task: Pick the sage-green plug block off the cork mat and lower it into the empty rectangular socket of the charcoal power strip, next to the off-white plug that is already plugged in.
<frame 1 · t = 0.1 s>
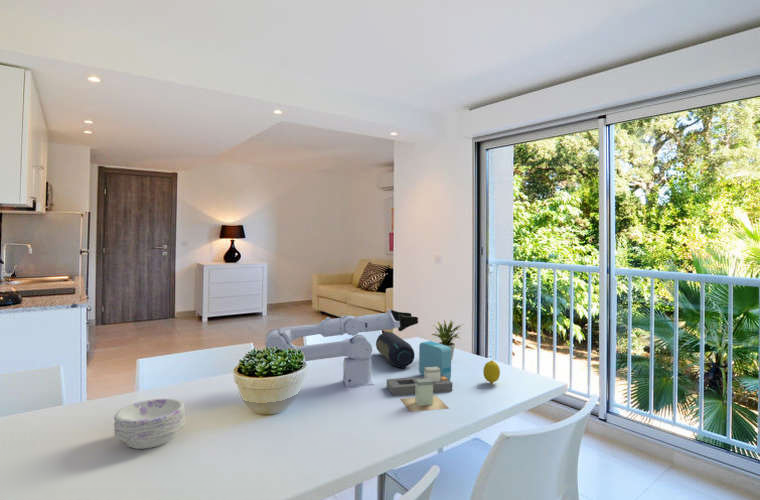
hand: (414, 318, 152), 22 cm above the table, tool horizontal, fingers open, 7 cm apart
paper bowls: (150, 441, 106), on the table
cork mat: (423, 404, 130), on the table
plug: (423, 403, 130), resting on cork mat
house plant: (447, 360, 177), on the table
power strip: (419, 390, 142), on the table
twin plug: (432, 389, 143), resting in power strip
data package: (434, 378, 155), on the table
lemon: (491, 384, 149), on the table
portable speaker: (393, 361, 175), on the table
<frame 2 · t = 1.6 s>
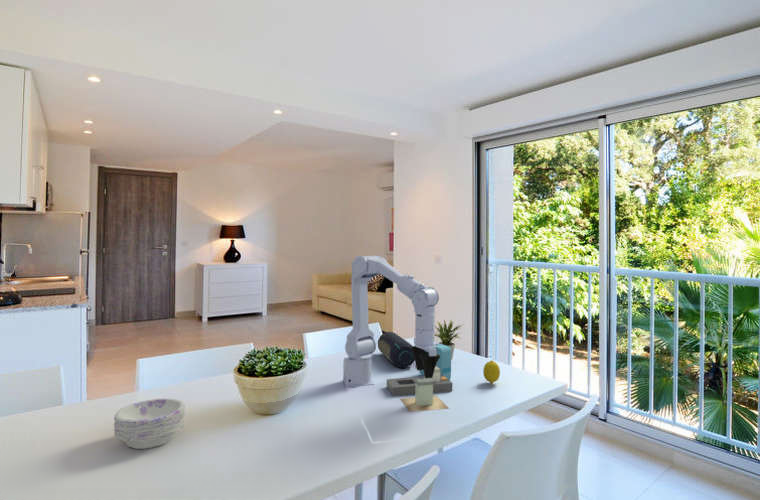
hand: (424, 373, 129), 9 cm above the table, tool pointing down, fingers open, 7 cm apart
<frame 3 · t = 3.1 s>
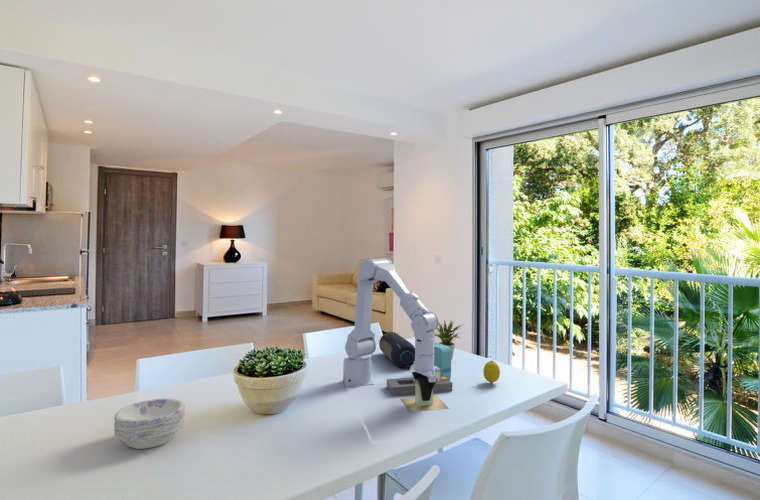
hand: (424, 398, 130), 2 cm above the table, tool pointing down, fingers closed on plug, 3 cm apart
plug: (423, 403, 130), resting on cork mat, touching gripper
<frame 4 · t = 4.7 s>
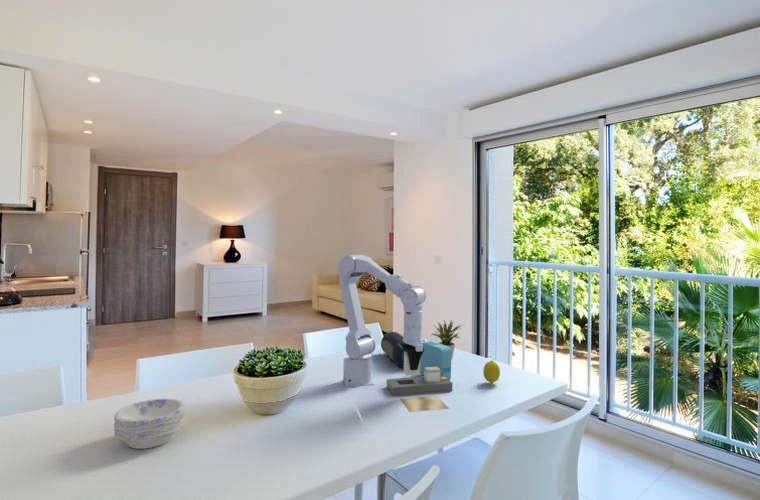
hand: (412, 368, 136), 9 cm above the table, tool pointing down, fingers closed on plug, 3 cm apart
plug: (411, 373, 136), point 7 cm above the table, touching gripper
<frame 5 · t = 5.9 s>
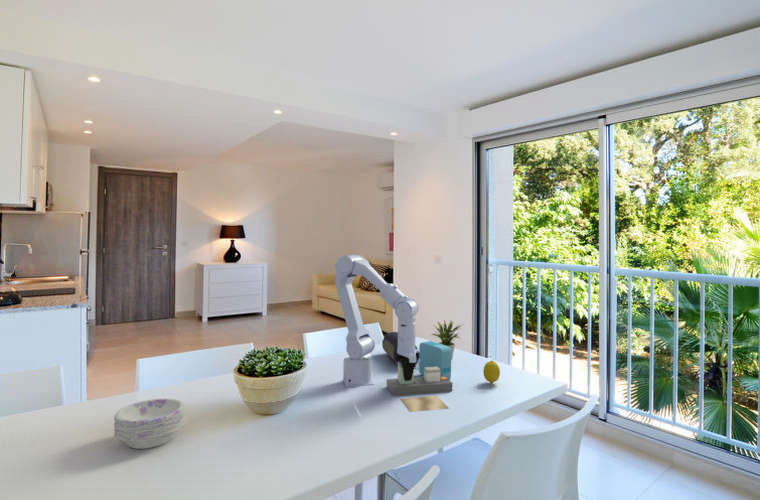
hand: (406, 378, 141), 4 cm above the table, tool pointing down, fingers closed on plug, 3 cm apart
plug: (405, 383, 141), point 2 cm above the table, touching gripper
when the fingers open (4 cm above the table, at t = 6.7 s): plug drops 2 cm, resting in power strip.
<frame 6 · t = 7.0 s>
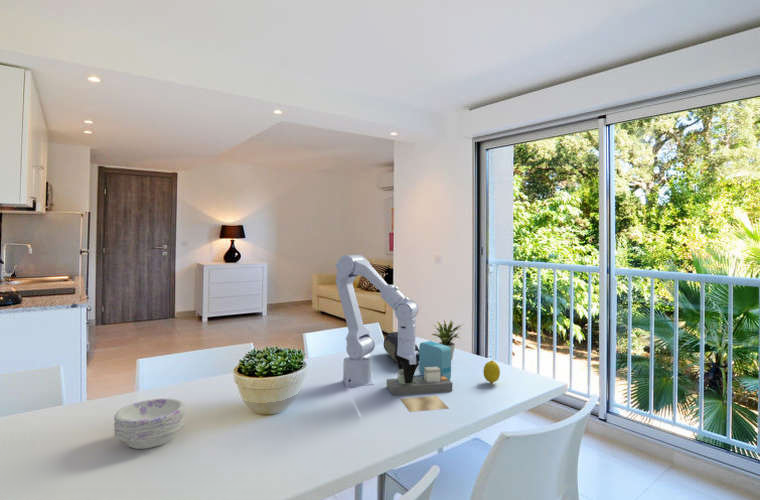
hand: (406, 380, 141), 4 cm above the table, tool pointing down, fingers open, 5 cm apart
plug: (405, 391, 141), resting in power strip
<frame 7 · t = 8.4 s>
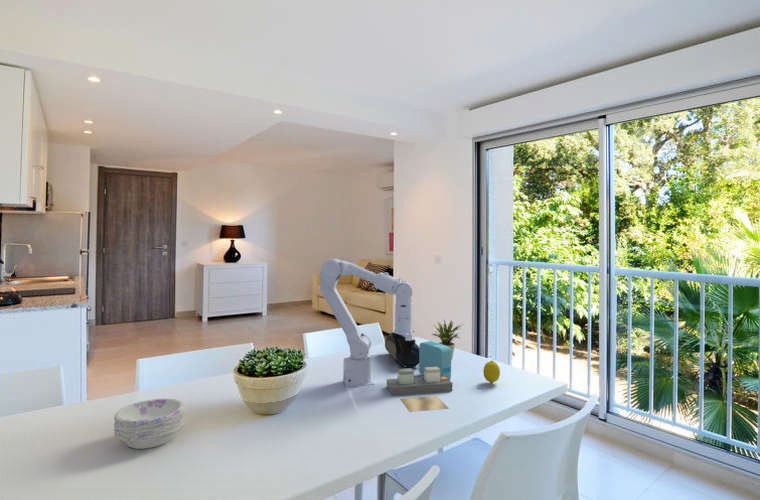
hand: (402, 356, 147), 9 cm above the table, tool pointing down, fingers open, 7 cm apart
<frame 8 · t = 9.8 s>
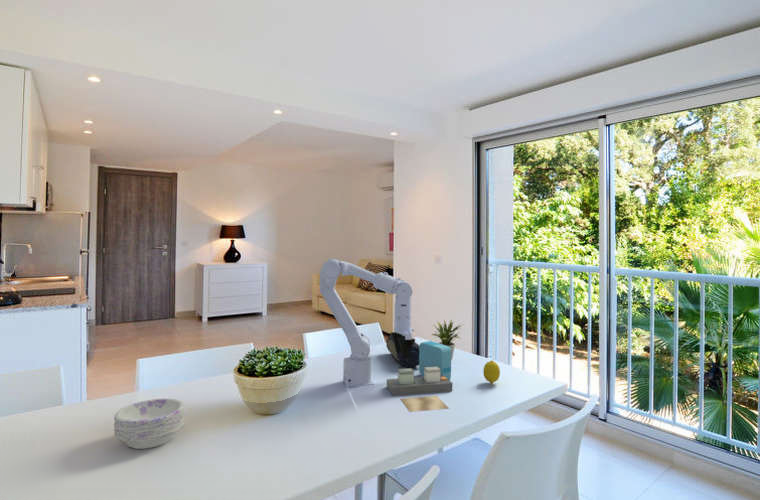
hand: (402, 355, 149), 9 cm above the table, tool pointing down, fingers open, 7 cm apart
at the end: plug 0.2 cm from the target spot on the power strip, point 0.0 cm above the power strip's base; plug tilted 0°; twin plug moved 0.0 cm from its start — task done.
